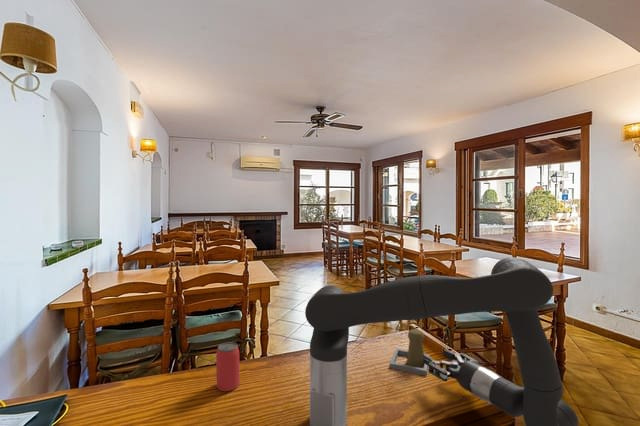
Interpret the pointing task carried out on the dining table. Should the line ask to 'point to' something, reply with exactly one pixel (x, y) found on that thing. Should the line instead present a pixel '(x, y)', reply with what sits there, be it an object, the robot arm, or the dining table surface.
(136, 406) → the dining table surface
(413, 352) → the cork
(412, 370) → the gray square frame
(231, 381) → the beer can
